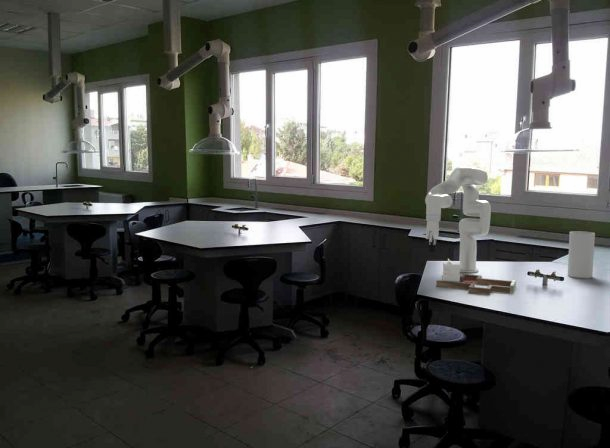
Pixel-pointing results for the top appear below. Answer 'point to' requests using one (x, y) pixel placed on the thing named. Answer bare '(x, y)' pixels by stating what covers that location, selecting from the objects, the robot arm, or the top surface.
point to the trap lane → (493, 284)
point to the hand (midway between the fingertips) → (432, 251)
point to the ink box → (451, 271)
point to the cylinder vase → (581, 254)
